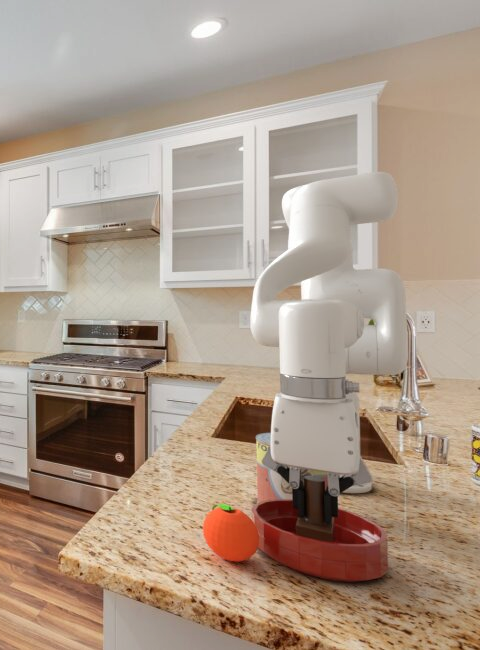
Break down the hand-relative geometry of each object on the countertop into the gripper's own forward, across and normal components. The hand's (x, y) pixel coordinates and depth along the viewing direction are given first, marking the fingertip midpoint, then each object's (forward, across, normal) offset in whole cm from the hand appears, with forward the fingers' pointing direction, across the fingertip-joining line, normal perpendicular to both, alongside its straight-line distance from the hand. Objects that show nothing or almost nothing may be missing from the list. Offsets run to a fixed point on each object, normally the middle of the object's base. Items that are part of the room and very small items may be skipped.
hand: (315, 516), depth 67 cm
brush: (+4, 0, 0) cm, 4 cm away
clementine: (+5, +9, +8) cm, 14 cm away
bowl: (+5, 0, +1) cm, 5 cm away
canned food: (+6, +4, -16) cm, 18 cm away
